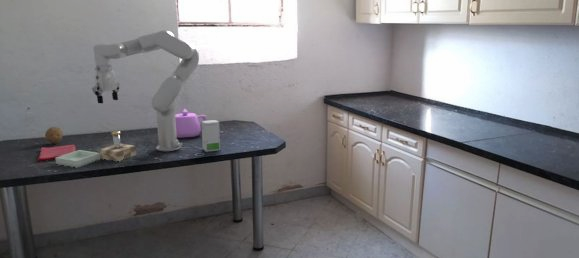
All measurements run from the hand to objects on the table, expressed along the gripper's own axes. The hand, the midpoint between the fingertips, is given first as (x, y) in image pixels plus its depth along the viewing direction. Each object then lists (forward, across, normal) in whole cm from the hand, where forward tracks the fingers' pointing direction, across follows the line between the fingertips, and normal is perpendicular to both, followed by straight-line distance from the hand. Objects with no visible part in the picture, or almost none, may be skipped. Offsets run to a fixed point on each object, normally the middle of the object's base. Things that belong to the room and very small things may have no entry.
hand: (108, 101), depth 228 cm
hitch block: (+27, -8, -12) cm, 30 cm away
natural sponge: (+26, -6, +40) cm, 48 cm away
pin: (+27, -8, -12) cm, 30 cm away
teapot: (+27, +41, -16) cm, 52 cm away
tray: (+26, -23, -1) cm, 35 cm away
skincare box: (+28, +23, -48) cm, 59 cm away
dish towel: (+27, -18, +22) cm, 39 cm away
